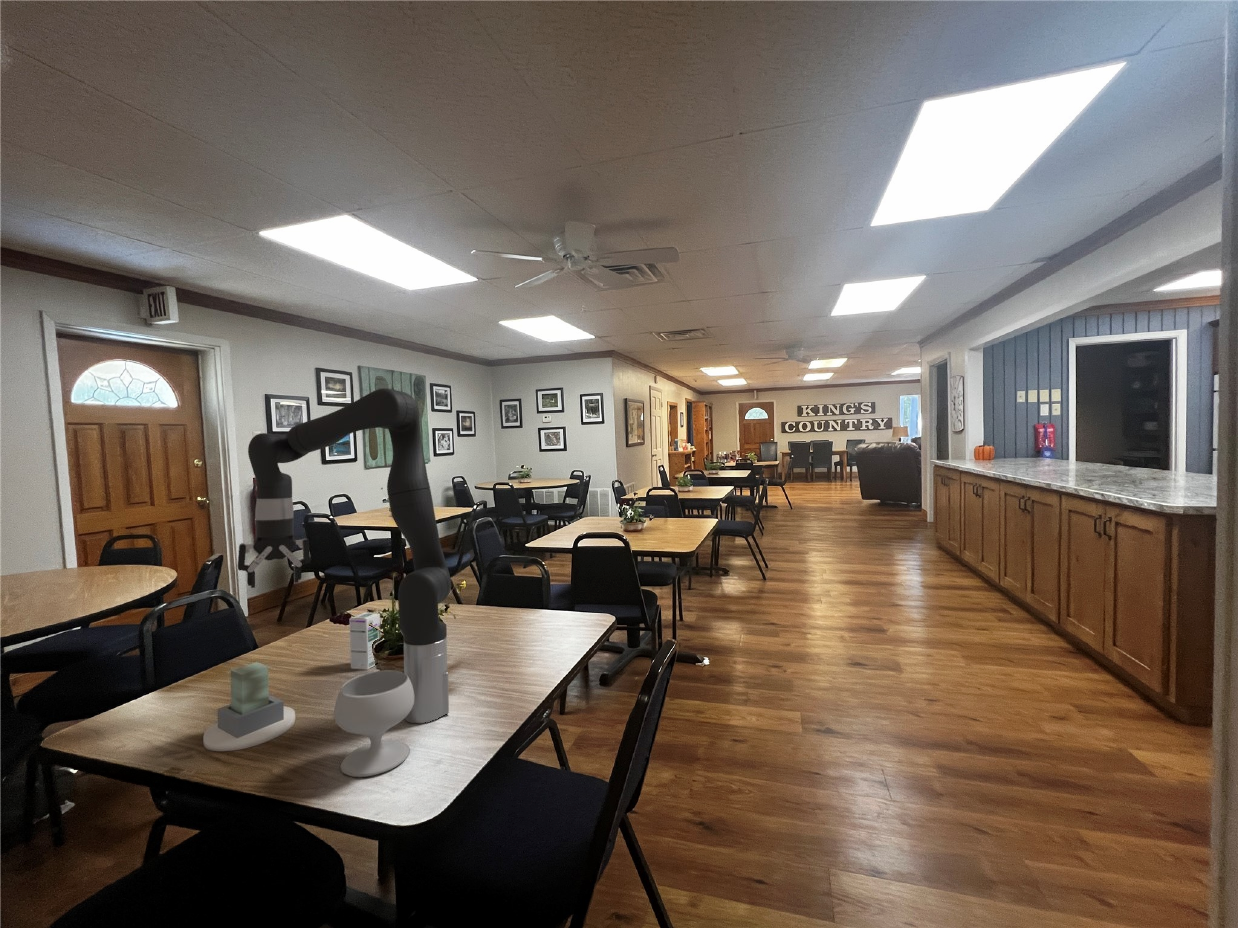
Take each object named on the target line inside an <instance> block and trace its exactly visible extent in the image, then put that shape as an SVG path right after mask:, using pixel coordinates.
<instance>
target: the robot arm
mask: <svg viewBox="0 0 1238 928" xmlns="http://www.w3.org/2000/svg"><path fill="white" fill-rule="evenodd" d="M419 410H420V409H419V405H418V403H417V401H416V400H415V398H414V397H413V396H412V395H411V394H409V393H407V392H404V391H400V390H397V389H392V388H387V387H386V388H385V387H384V388H378V389H376V390H373V391H372V392H369V393H367V394H366V395H364V396H362V397H361V398H359V399H357V400H355V401H353V402H352V403H350V404H347V405H345V406H342V407H341V408H340V409H337V410H335V411H332V412H330V413H327V414H324V415H322V416H319V417H317V418H313V419H310V420H308V421H304V422H301V423H299V424H296V425H294V426H293V427H290V429H289V430H288V431H287V433H284V434H281V433H268V432H265V433H263V432H262V433H258V434H255V435H254V436H253V437H252V438H251V440H250V441H249V442H248V443H249V444H248V448H247V449H248V450H247V452H248V453H247V454H248V459H249V461H250V462H249V463H250V465H251V468H252V471H253V475H254V478H255V480H256V503H255V513H254V517H255V541H254V542H253V543H243V542H242V543H239V546H238V559H237V570H238V571H242V572H243V571H244V572H246V574H247V580H246V581H247V582H246V583H247V585H248V587H249V586H250V588H251V589H254V588H256V572H255V569H257V567H258V566H259V565H260V564H261V563H262V562H263V560H264V561H268V562H269V561H273V560H284V559H285V558H288V559H289V560H290V561H291V562H292V563H293V564H294V566H293V583H295V584H296V583H299V581H300V580H301V579H302V567H303V566H304V565H306V564H309V563H311V552H310V541H309V539H308V538H305V537H304V538H302V539H296V540H295V537H294V536H295V535H294V533H295V531H294V523H295V522H294V513H295V512H294V503H293V478H292V477H291V476H290V474H287V473H284V472H282V471H281V469H280V466H279V464H287V463H291V462H294V461H297V460H299V459H302V458H303V457H305V456H306V455H308V454H309V453H313V452H316V451H318V450H321V449H322V450H323V449H324V448H327V447H328V448H329V447H330V446H333V445H335V444H337V443H338V442H340V441H342V440H343V439H344V438H345V437H347V436H349V435H351V434H354V433H355V432H360V431H364V430H370V429H379V428H380V429H383V430H384V429H385V430H388V433H389V437H390V441H391V446H392V459H391V466H390V469H389V473H388V477H387V484H386V491H387V498H388V501H389V502H388V503H389V509H390V512H391V517H392V518H393V519H392V520H393V522H394V523H395V525H396V527H397V528H398V530H399V531H400V532H401V534H402V536H403V537H404V538H405V540H406V542H407V544H408V547H409V548H410V551H411V556H412V561H413V569H414V570H413V571H412V572H410V573H408V574H407V575H405V576H404V577H403V578H402V580H401V581H400V584H399V586H398V592H397V593H398V594H397V602H398V603H397V604H398V605H397V606H398V621H399V627H400V631H401V633H402V635H403V673H405V674H406V675H407V676H408V677H409V679H410V681H411V683H412V686H413V690H414V705H413V707H412V709H411V711H410V712H409V714H408V715H407V716H406V717H405V718H404V719H405V721H407V722H409V723H412V724H425V722H426V723H431V722H433V721H432V720H434V721H436V720H435V719H437V720H439V719H440V718H439V717H441V716H443V715H445V714H448V713H449V714H450V711H449V709H450V705H449V703H450V701H449V700H450V699H449V698H450V697H449V691H450V690H449V672H448V647H447V646H448V643H447V642H448V639H447V637H448V634H447V624H446V623H445V622H443V621H440V615H439V612H440V611H439V604H441V603H443V602H444V601H445V600H446V599H447V598H448V597H449V596H450V593H451V590H452V579H451V576H450V575H451V574H450V571H449V568H448V565H447V562H446V558H445V555H444V551H443V549H442V544H441V541H440V537H439V536H440V534H439V530H438V524H437V520H436V519H437V518H436V514H435V510H434V509H435V508H434V502H433V500H434V499H433V495H432V491H431V486H430V482H429V478H428V472H427V466H426V459H425V455H424V450H423V442H422V429H421V421H420V420H421V419H420V418H421V417H420V411H419ZM296 545H298V547H299V548H300V549H302V558H301V559H298V558H297V556H295V554H293V553H292V551H293V549H295V547H296ZM252 549H253V550H254V551H255V552H256V553H257V555H256V556H255V558H253V560H252V562H251V563H250V564H246V554H249V553H250V551H251V550H252ZM445 716H446V715H445ZM443 717H444V716H443ZM438 718H439V719H438ZM441 718H442V717H441ZM430 721H431V722H430Z"/></svg>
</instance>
